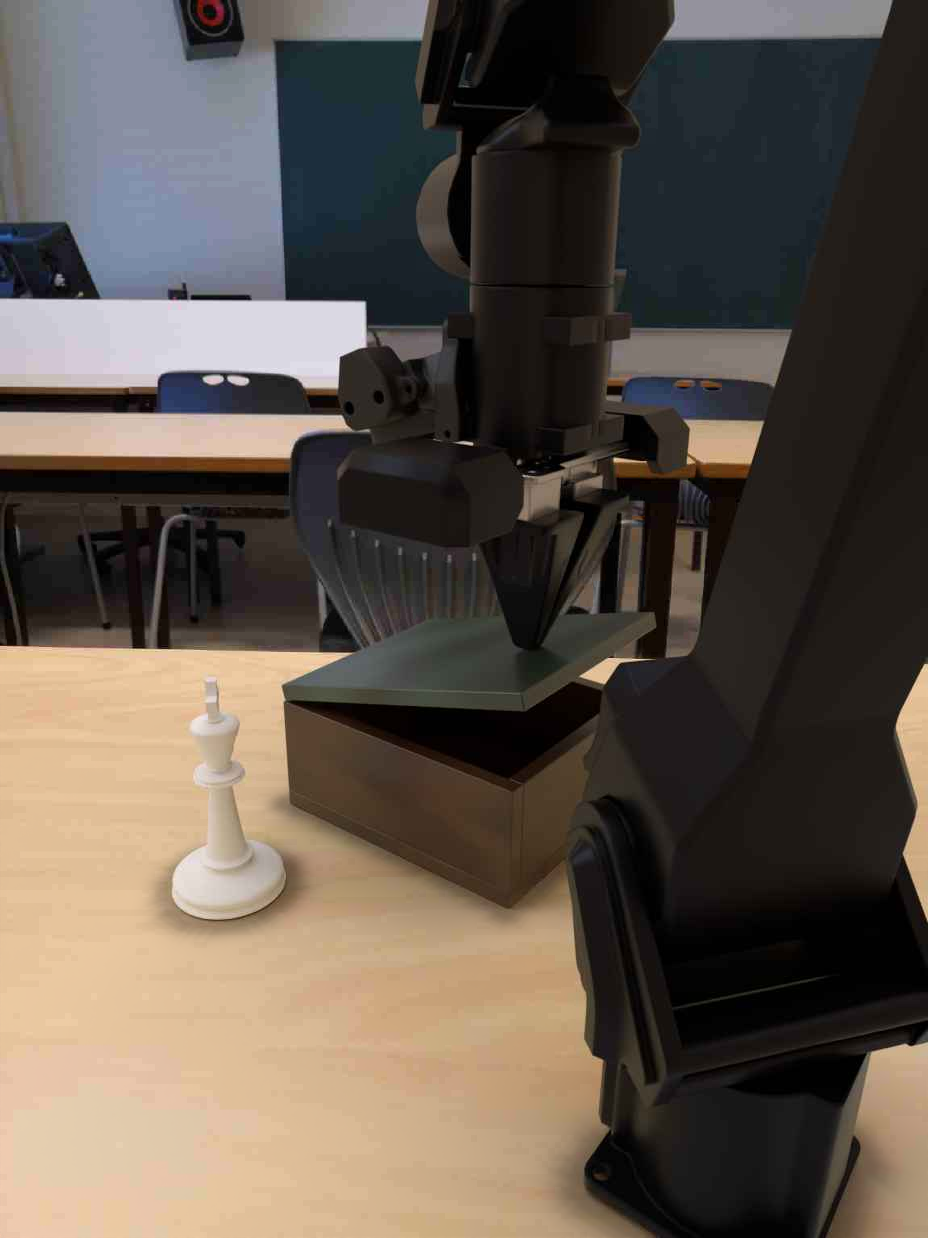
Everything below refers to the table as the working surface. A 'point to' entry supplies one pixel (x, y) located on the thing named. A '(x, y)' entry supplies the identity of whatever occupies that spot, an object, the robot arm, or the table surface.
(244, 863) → the chess piece
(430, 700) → the box lid
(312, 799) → the wooden box
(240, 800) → the table surface
